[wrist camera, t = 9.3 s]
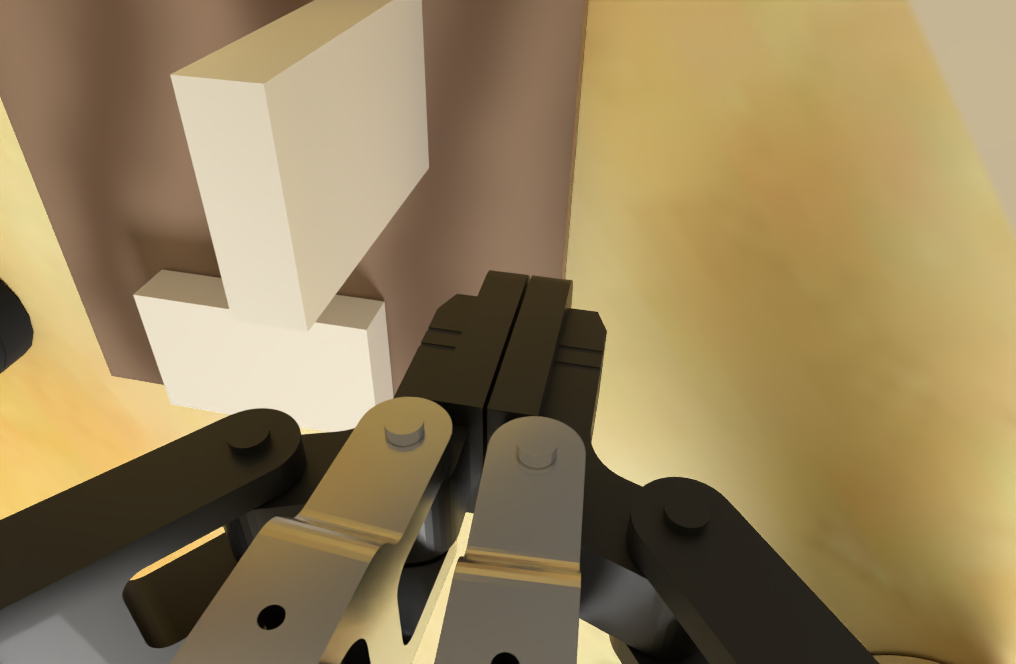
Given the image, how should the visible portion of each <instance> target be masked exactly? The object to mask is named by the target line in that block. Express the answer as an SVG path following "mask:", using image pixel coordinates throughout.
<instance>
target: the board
mask: <svg viewBox="0 0 1016 664" xmlns="http://www.w3.org/2000/svg"><path fill="white" fill-rule="evenodd" d="M312 1H314V0H0V97H1V100H2V102H3V105H4V107H5V110H6V112H7V115H8V117H9V120H10V122H11V125H12V127H13V130H14V132H15V135H16V137H17V140H18V142H19V145H20V147H21V150H22V152H23V155H24V157H25V160H26V162H27V165H28V167H29V170H30V172H31V175H32V177H33V180H34V182H35V185H36V187H37V190H38V192H39V195H40V197H41V200H42V202H43V205H44V207H45V210H46V212H47V215H48V217H49V220H50V222H51V225H52V227H53V230H54V232H55V235H56V237H57V240H58V242H59V245H60V247H61V250H62V252H63V255H64V257H65V260H66V262H67V265H68V267H69V270H70V272H71V275H72V277H73V280H74V283H75V285H76V288H77V290H78V293H79V295H80V298H81V300H82V303H83V305H84V308H85V310H86V313H87V315H88V318H89V320H90V323H91V325H92V328H93V330H94V333H95V335H96V338H97V340H98V343H99V345H100V348H101V350H102V353H103V355H104V358H105V360H106V363H107V365H108V368H109V370H110V373H111V375H112V376H116V377H122V378H128V379H133V380H139V381H145V382H151V383H157V384H163V385H164V383H163V380H162V377H161V374H160V371H159V368H158V365H157V362H156V360H155V357H154V354H153V351H152V348H151V345H150V342H149V339H148V336H147V333H146V331H145V328H144V325H143V322H142V319H141V316H140V313H139V310H138V307H137V305H136V302H135V299H134V296H133V294H134V293H136V292H137V291H138V290H139V289H140V288H141V287H143V286H144V285H145V284H146V283H147V282H148V281H149V280H151V279H152V278H153V277H154V276H155V275H156V274H157V273H159V272H160V271H161V270H169V271H176V272H183V273H190V274H197V275H204V276H211V277H218V278H221V274H220V270H219V266H218V262H217V258H216V254H215V250H214V246H213V242H212V238H211V234H210V230H209V226H208V222H207V218H206V214H205V210H204V206H203V203H202V199H201V195H200V191H199V187H198V183H197V179H196V175H195V171H194V167H193V163H192V159H191V155H190V151H189V147H188V143H187V139H186V135H185V131H184V127H183V123H182V119H181V116H180V112H179V108H178V104H177V100H176V96H175V92H174V88H173V84H172V80H171V76H170V74H172V73H174V72H176V71H178V70H180V69H182V68H184V67H186V66H188V65H190V64H192V63H194V62H196V61H198V60H200V59H201V58H203V57H205V56H207V55H209V54H211V53H213V52H215V51H217V50H219V49H221V48H223V47H225V46H227V45H229V44H231V43H233V42H234V41H236V40H238V39H240V38H242V37H244V36H246V35H248V34H250V33H252V32H254V31H256V30H258V29H260V28H262V27H264V26H266V25H267V24H269V23H271V22H273V21H275V20H277V19H279V18H281V17H283V16H285V15H287V14H289V13H291V12H293V11H295V10H297V9H299V8H300V7H302V6H304V5H306V4H308V3H310V2H312ZM587 11H588V0H422V19H423V42H424V64H425V86H426V109H427V131H428V154H429V169H428V170H427V171H426V173H425V174H424V175H423V177H422V178H421V179H420V181H419V182H418V183H417V185H416V186H415V188H414V189H413V190H412V192H411V193H410V194H409V196H408V197H407V198H406V200H405V201H404V202H403V204H402V205H401V206H400V208H399V209H398V211H397V212H396V213H395V215H394V216H393V217H392V219H391V220H390V221H389V223H388V224H387V225H386V227H385V228H384V229H383V231H382V232H381V234H380V235H379V236H378V238H377V239H376V240H375V242H374V243H373V244H372V246H371V247H370V248H369V250H368V251H367V253H366V254H365V255H364V257H363V258H362V259H361V261H360V262H359V263H358V265H357V266H356V267H355V269H354V270H353V271H352V273H351V274H350V276H349V277H348V278H347V280H346V281H345V282H344V284H343V285H342V286H341V288H340V289H339V290H338V292H337V293H336V295H342V296H349V297H356V298H363V299H370V300H377V301H384V302H385V313H386V323H387V334H388V344H389V355H390V365H391V376H392V386H393V397H394V396H395V394H396V392H397V390H398V388H399V386H400V384H401V382H402V379H403V377H404V375H405V373H406V371H407V369H408V367H409V365H410V363H411V361H412V359H413V357H414V355H415V353H416V351H417V349H418V347H419V346H421V341H422V339H423V337H424V335H425V333H426V331H428V327H429V325H430V323H431V321H432V319H433V317H434V315H435V313H436V311H437V309H438V308H439V307H440V306H441V305H443V304H444V303H445V302H447V301H448V300H449V299H451V298H452V297H453V296H455V295H456V294H464V295H471V296H478V293H479V291H480V289H481V286H482V284H483V282H484V279H485V277H486V275H487V273H488V271H489V270H493V271H501V272H509V273H517V274H525V275H530V279H531V276H532V275H534V276H542V277H550V278H558V279H565V273H566V261H567V249H568V237H569V225H570V213H571V202H572V190H573V178H574V166H575V154H576V142H577V130H578V118H579V107H580V95H581V83H582V71H583V59H584V47H585V35H586V23H587Z"/></svg>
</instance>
